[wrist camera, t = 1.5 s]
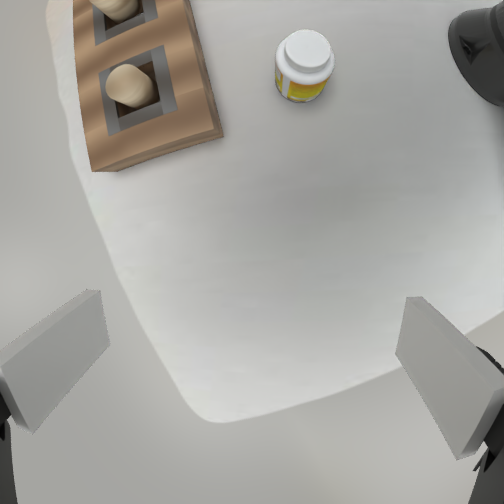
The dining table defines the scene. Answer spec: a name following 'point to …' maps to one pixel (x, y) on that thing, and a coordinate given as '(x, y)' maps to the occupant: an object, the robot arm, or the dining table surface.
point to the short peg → (132, 87)
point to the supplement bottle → (303, 65)
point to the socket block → (153, 65)
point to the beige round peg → (118, 9)
